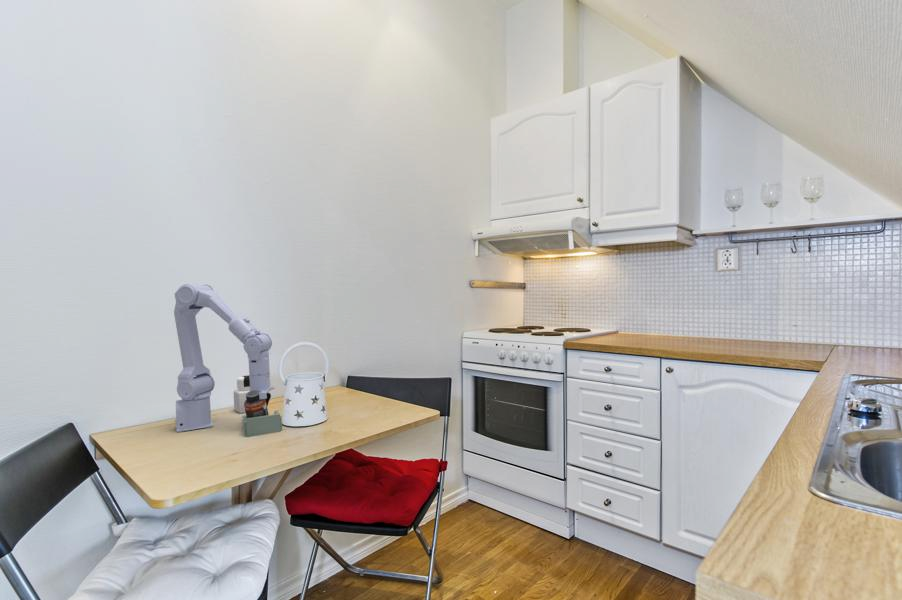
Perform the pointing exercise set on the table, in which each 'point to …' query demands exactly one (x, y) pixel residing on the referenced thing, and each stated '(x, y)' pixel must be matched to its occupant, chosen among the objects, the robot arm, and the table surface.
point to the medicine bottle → (241, 393)
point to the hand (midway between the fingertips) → (261, 418)
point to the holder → (262, 424)
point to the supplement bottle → (255, 405)
